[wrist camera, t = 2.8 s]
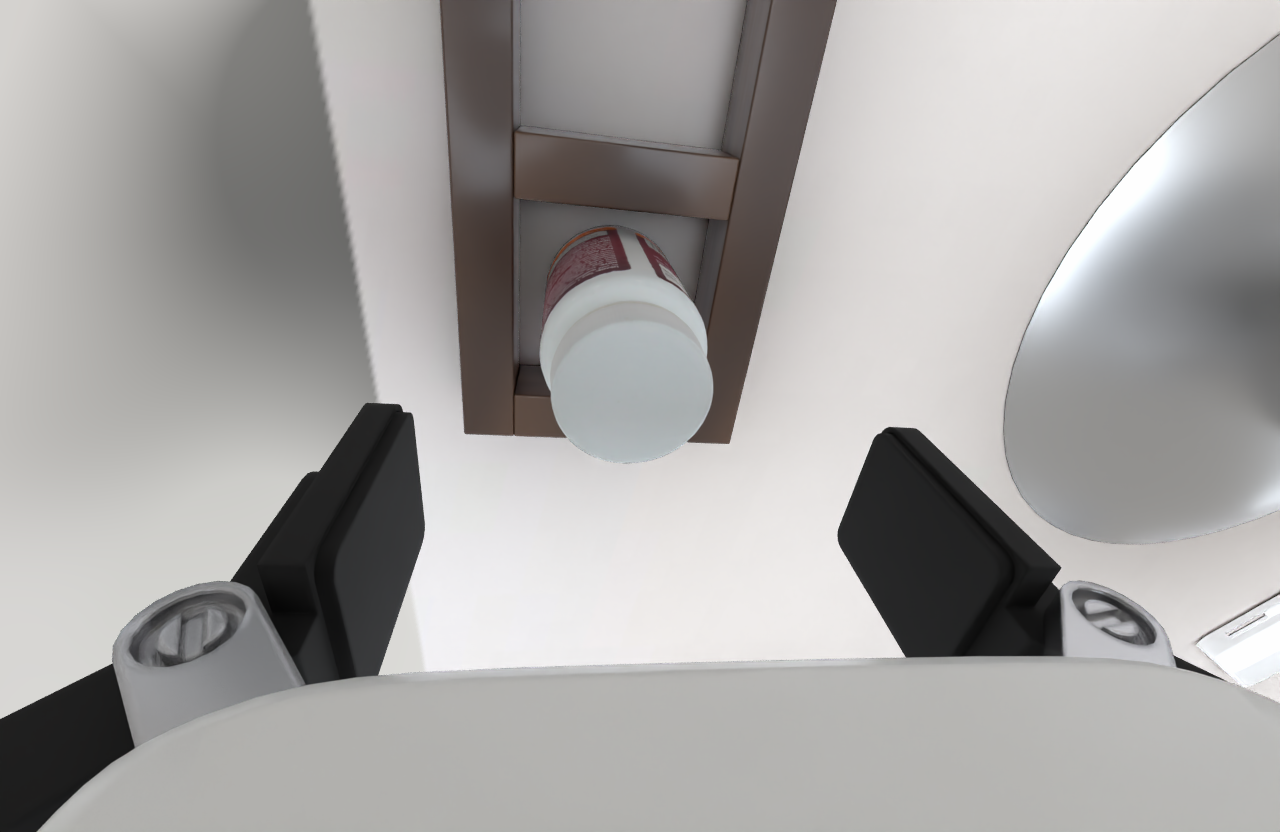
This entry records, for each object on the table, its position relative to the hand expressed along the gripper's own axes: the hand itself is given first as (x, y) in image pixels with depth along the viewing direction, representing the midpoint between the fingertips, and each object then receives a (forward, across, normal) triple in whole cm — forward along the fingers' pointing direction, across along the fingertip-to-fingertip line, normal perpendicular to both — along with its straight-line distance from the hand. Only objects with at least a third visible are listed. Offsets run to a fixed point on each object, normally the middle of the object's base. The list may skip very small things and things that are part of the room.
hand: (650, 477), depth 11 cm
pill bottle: (+11, 0, 0) cm, 11 cm away
